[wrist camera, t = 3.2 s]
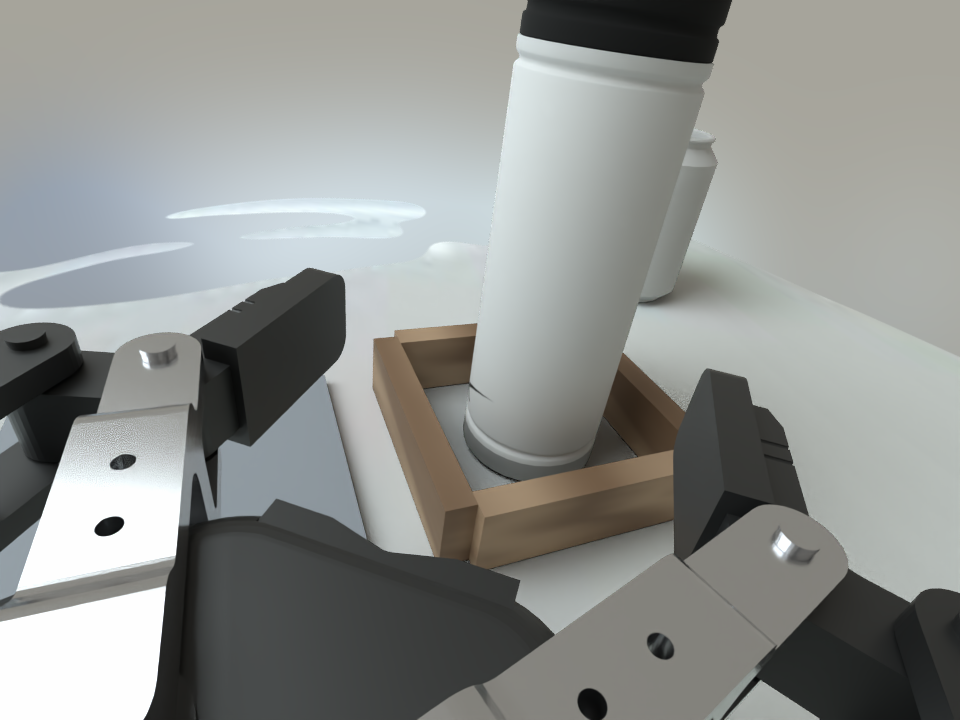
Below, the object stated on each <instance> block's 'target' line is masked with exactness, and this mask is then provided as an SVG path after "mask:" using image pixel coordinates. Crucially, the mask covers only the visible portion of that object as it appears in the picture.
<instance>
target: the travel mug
mask: <svg viewBox="0 0 960 720" xmlns="http://www.w3.org/2000/svg"><path fill="white" fill-rule="evenodd" d="M731 2H732V0H528V4H527V8H526V10H525V11H523V14H522V20H521V28H520V33H519V34H518V37H517V43H516V49H517V51H518V52H519V58H518V59H517V60H516V61H515V62H514V65H513V72H512V80H511V87H510V94H509V101H508V108H507V115H506V123H505V131H504V137H503V144H502V151H501V159H500V166H499V173H498V180H497V188H496V195H495V202H494V209H493V217H492V223H491V231H490V238H489V245H488V252H487V259H486V267H485V274H484V281H483V288H482V295H481V303H480V310H479V317H478V324H477V331H476V339H475V346H474V353H473V360H472V367H471V375H470V382H469V389H468V396H467V405H466V411H465V418H464V425H463V431H464V437H465V440H466V443H467V445H468V447H469V448H470V450H471V451H472V453H473V454H474V455H475V456H476V457H477V458H478V459H479V460H480V461H481V462H482V463H483V464H485V465H486V466H487V467H489V468H490V469H492V470H494V471H496V472H498V473H500V474H502V475H504V476H507V477H510V478H513V479H516V480H521V481H526V480H531V479H535V478H540V477H545V476H550V475H555V474H559V473H564V472H569V471H574V470H579V469H581V468H582V467H583V466H584V465H585V464H586V462H587V461H588V459H589V457H590V454H591V451H592V448H593V444H594V441H595V438H596V433H597V431H598V429H599V425H600V422H601V419H602V416H603V413H604V410H605V407H606V403H607V400H608V397H609V394H610V391H611V388H612V384H613V381H614V378H615V375H616V372H617V369H618V365H619V362H620V359H621V356H622V353H623V350H624V347H625V343H626V340H627V337H628V334H629V331H630V328H631V324H632V321H633V318H634V315H635V312H636V309H637V306H638V302H639V299H640V296H641V293H642V290H643V287H644V283H645V280H646V277H647V274H648V271H649V268H650V264H651V261H652V258H653V255H654V252H655V249H656V246H657V242H658V239H659V236H660V233H661V230H662V227H663V223H664V220H665V217H666V214H667V211H668V208H669V204H670V201H671V198H672V195H673V192H674V189H675V186H676V182H677V179H678V176H679V173H680V170H681V167H682V163H683V160H684V157H685V154H686V151H687V148H688V144H689V141H690V138H691V135H692V132H693V129H694V126H695V122H696V119H697V116H698V112H699V110H700V107H701V103H702V100H703V97H704V90H703V88H702V84H703V83H704V82H705V81H706V80H708V79H709V77H710V75H711V72H712V69H713V65H714V64H713V63H712V62H713V59H714V56H715V53H716V50H717V47H718V43H719V40H718V39H717V34H718V30H719V28H720V27H721V26H723V25H724V23H725V21H726V18H727V15H728V12H729V9H730V5H731Z"/></svg>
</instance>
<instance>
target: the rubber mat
mask: <svg viewBox="0 0 960 720" xmlns="http://www.w3.org/2000/svg"><path fill="white" fill-rule="evenodd" d="M17 442H18V439H17V436H16V434H15V432H14V430H13V428H12V425H11V423H10V421H9V419H8V417H7V418H6V420H5V422H4V424H3V426H2V428H1V431H0V454H1V453H2V452H4V451H5V450H7V449H8V448H9V447H11V446H12V445H14V444H15V443H17ZM220 451H221V457H222V472H221V518H224V517H234V516H262V515H263V514H264V513H265V511H266V510H267V509H268V508H269V507H270V505H271V504H272V503H273V502H274V501H275V499H276V498H277V499H280V500H282V501H285V502H288V503H291V504H294V505H297V506H300V507H303V508H306V509H309V510H312V511H315V512H318V513H321V514H324V515H327V516H330V517H333V518H334V519H336V520H337V521H339V522H340V523H342V524H344V525H345V526H347V527H348V528H350V529H351V530H353V531H354V532H356V533H357V534H359V535H360V536H362V537H363V538H365V539H367V538H366V534H365V530H364V526H363V522H362V518H361V515H360V511H359V507H358V503H357V499H356V495H355V491H354V488H353V484H352V480H351V476H350V472H349V468H348V464H347V460H346V457H345V453H344V449H343V445H342V441H341V437H340V433H339V430H338V426H337V422H336V418H335V414H334V410H333V406H332V402H331V399H330V395H329V391H328V387H327V383H326V379H325V375H322V376H321V377H320V378H319V379H318V380H317V381H316V382H315V383H314V384H313V385H312V386H311V387H310V388H309V389H308V390H307V391H306V392H305V393H304V394H303V395H302V396H301V397H300V398H299V399H298V400H297V401H296V402H295V403H294V404H293V405H292V406H291V407H290V408H289V409H288V410H287V411H286V412H285V413H284V414H283V415H282V416H281V417H280V418H279V419H278V420H277V421H276V422H275V423H274V424H273V425H272V426H271V427H270V428H269V429H268V430H267V431H266V432H265V433H264V434H263V435H262V436H261V437H260V438H259V439H258V440H257V441H256V442H255V443H254V444H253V445H252V446H251V447H249V446H246V445H243V444H239V443H236V442H233V441H230V440H226V441H225V442H224V443H223V444H222V445H221V446H220ZM40 520H41V518H40V519H39V520H38V521H37V522H36V523H34V524H33V525H32V526H31V527H30V528H28V529H27V530H26V531H25V532H24V533H22V534H21V535H20V536H19V537H18V538H17V539H15V540H14V541H13V542H12V543H11V544H9V545H8V546H7V547H6V548H5V549H3V550H2V551H1V552H0V600H1V599H4V598H6V597H9V596H11V595H14V594H15V593H16V590H17V588H18V585H19V582H20V579H21V576H22V573H23V570H24V567H25V564H26V561H27V558H28V555H29V553H30V550H31V547H32V544H33V541H34V538H35V535H36V532H37V529H38V526H39V523H40Z"/></svg>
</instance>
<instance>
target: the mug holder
mask: <svg viewBox="0 0 960 720" xmlns="http://www.w3.org/2000/svg"><path fill="white" fill-rule="evenodd" d="M477 324H478V323H476V324H465V325H453V326H442V327H430V328H418V329H407V330H395V334H394V337H388V338H377V339H374V348H373V390H374V393H375V395H376V398H377V401H378V404H379V406H380V409H381V412H382V415H383V417H384V420H385V423H386V426H387V428H388V431H389V434H390V437H391V439H392V442H393V445H394V448H395V450H396V453H397V456H398V458H399V461H400V464H401V467H402V469H403V472H404V475H405V478H406V480H407V483H408V486H409V489H410V491H411V494H412V497H413V500H414V502H415V505H416V508H417V511H418V513H419V516H420V519H421V522H422V524H423V527H424V530H425V532H426V535H427V538H428V541H429V543H430V546H431V549H432V552H433V554H434V557H441V558H451V559H458V560H461V561H464V560H468V559H469V561H470V564H473V565H476V566H479V567H482V568H485V569H490V568H494V567H498V566H502V565H505V564H509V563H513V562H517V561H520V560H524V559H528V558H532V557H535V556H539V555H543V554H546V553H550V552H554V551H558V550H561V549H565V548H569V547H573V546H576V545H580V544H584V543H588V542H591V541H595V540H599V539H603V538H606V537H610V536H614V535H617V534H621V533H625V532H629V531H632V530H636V529H640V528H644V527H647V526H651V525H655V524H659V523H662V522H666V521H670V520H674V493H673V451H674V445H675V440H676V437H677V433H678V430H679V427H680V425H681V423H682V420H683V418H684V415H685V412H684V411H683V410H682V409H681V408H680V407H679V406H678V405H677V404H676V403H675V402H674V401H673V400H672V399H671V398H670V397H669V396H668V395H667V394H666V393H665V392H664V391H662V390H661V389H660V388H659V387H658V386H657V385H656V384H655V383H654V382H653V381H652V380H651V379H650V378H649V377H648V376H647V375H646V374H645V373H644V372H643V371H642V370H641V369H640V368H639V367H637V366H636V365H635V364H634V363H633V362H632V361H631V360H630V359H629V358H628V357H627V356H626V355H625V354H624V353H622V356H621V359H620V362H619V365H618V369H617V372H616V375H615V378H614V381H613V384H612V388H611V391H610V394H609V397H608V400H607V403H606V407H605V410H604V413H603V416H604V417H605V418H606V420H607V421H608V422H609V423H610V424H611V425H612V427H613V428H614V429H615V430H616V431H617V433H618V434H619V435H620V436H621V437H622V438H623V440H624V441H625V442H626V443H627V444H628V445H629V447H630V448H631V449H632V450H633V451H634V452H635V454H636V455H637V456H638V457H636V458H631V459H627V460H622V461H617V462H612V463H607V464H603V465H598V466H593V467H588V468H583V469H579V470H574V471H569V472H564V473H559V474H555V475H550V476H545V477H540V478H535V479H531V480H526V481H521V482H516V483H511V484H507V485H502V486H497V487H492V488H487V489H483V490H478V491H473V492H472V490H471V488H470V486H469V484H468V482H467V480H466V478H465V476H464V473H463V471H462V469H461V467H460V465H459V463H458V461H457V459H456V457H455V455H454V453H453V451H452V449H451V446H450V444H449V442H448V440H447V438H446V436H445V434H444V432H443V430H442V428H441V426H440V424H439V422H438V419H437V417H436V415H435V413H434V411H433V409H432V407H431V405H430V403H429V401H428V399H427V397H426V395H425V392H424V390H423V388H431V387H439V386H446V385H454V384H462V383H469V382H470V375H471V367H472V360H473V353H474V346H475V339H476V331H477Z"/></svg>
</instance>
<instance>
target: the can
mask: <svg viewBox="0 0 960 720" xmlns="http://www.w3.org/2000/svg"><path fill="white" fill-rule="evenodd" d="M715 140H716V138H715V137H714V136H713V135H712V134H709V133H707V132H705V131H702V130H698V129H695V128H694V129H693V132H692V135H691V138H690V141H689V144H688V148H687V151H686V154H685V157H684V160H683V163H682V167H681V170H680V173H679V176H678V179H677V182H676V186H675V189H674V192H673V195H672V198H671V201H670V204H669V208H668V211H667V214H666V217H665V220H664V223H663V227H662V230H661V233H660V236H659V239H658V242H657V246H656V249H655V252H654V255H653V258H652V261H651V264H650V268H649V271H648V274H647V277H646V280H645V283H644V287H643V290H642V293H641V296H640V299H639V302H649V301H654V300H656V299H658V298H659V297H661V296H664V295H666V294H668V293H670V292H672V290H673V288H674V286H675V283H676V280H677V277H678V275H679V272H680V269H681V266H682V263H683V260H684V257H685V255H686V252H687V249H688V246H689V243H690V240H691V237H692V235H693V232H694V229H695V226H696V223H697V220H698V218H699V215H700V212H701V209H702V206H703V203H704V200H705V197H706V195H707V192H708V189H709V186H710V183H711V180H712V178H713V175H714V172H715V169H716V166H717V163H718V162H717V160H716V157H715V155H714V153H713V151H712V148H711V145H712V143H714V142H715Z"/></svg>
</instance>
